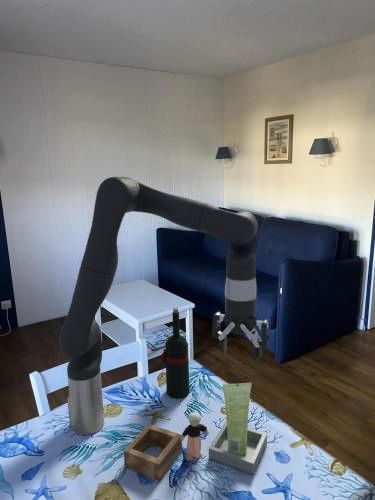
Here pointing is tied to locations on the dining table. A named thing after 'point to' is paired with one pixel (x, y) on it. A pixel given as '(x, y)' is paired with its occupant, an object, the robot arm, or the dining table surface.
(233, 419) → the tube
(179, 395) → the wine bottle
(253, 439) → the tray
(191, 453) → the grandmother figurine
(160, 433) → the wooden frame
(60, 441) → the dining table surface
